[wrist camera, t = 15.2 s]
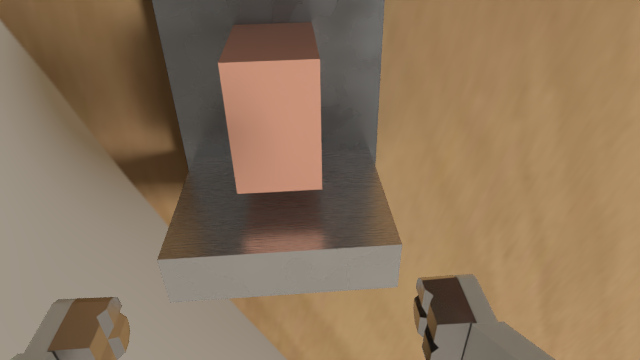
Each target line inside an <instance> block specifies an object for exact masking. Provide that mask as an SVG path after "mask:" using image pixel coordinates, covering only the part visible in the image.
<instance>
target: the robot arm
mask: <svg viewBox="0 0 640 360" xmlns="http://www.w3.org/2000/svg"><path fill="white" fill-rule="evenodd" d="M416 289H417V292H418V296H417V297H415V298H414V307H413V308H414V319H415V325H416V328H417V332H418V333H419V334H420V335H421V336H422V337H423V343H422V349H423V352H424V355H425V359H426V360H555V359H554V358H552V357H551V356H550V355H548V354H547V353H546V352H544V351H543V350H541V349H540V348H539V347H537V346H536V345H535V344H533V343H532V342H531V341H529V340H528V339H526V338H525V337H524V336H522V335H521V334H520V333H518V332H517V331H516V330H514V329H513V328H512V327H510V326H509V325H507V324H506V323H505V322H498V321H497V319H496V317H495V315H494V313H493V311H492V308H491V306H490V304H489V302H488V300H487V298H486V296H485V294H484V292H483V290H482V288H481V286H480V284H479V282H478V280H477V278H476V277H475V276H474V275H473V274H466V275H454V276H453V275H449V276H436V277H422V278H418V280H417V284H416ZM121 307H122V305H121V303H120V301H119V299H118V298H117V297H108V298H107V297H104V298H77V299H59V300H57V301H56V302H54V303H53V304H52V305H51V307H50V309H49V311H48V312H47V314H46V316H45V318H44V319H43V321H42V323H41V324H40V326H39V328H38V330H37V331H36V333H35V335H34V337H33V338H32V340H31V342H30V344H29V345H28V347H27V349H26V350H25V352H24V353H23V354H17V355H16V356H15V357H13V358H12V359H11V360H118V359H119V358H120V357H121V356H122V355H123V354H124V353H125V352H126V349H127V346H128V343H129V335H130V328H129V322H128V319H127V317H126V316H124V315H123V314H121V313H120V309H121Z"/></svg>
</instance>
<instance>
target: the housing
mask: <svg viewBox="0 0 640 360" xmlns="http://www.w3.org/2000/svg"><path fill="white" fill-rule="evenodd" d="M218 67H219V74H220V81H221V87H222V94H223V101H224V108H225V115H226V121H227V128H228V135H229V142H230V149H231V155H232V162H233V169H234V176H235V182H236V189H237V194H245V193H264V192H282V191H301V190H320V189H322V146H321V90H320V57H319V53H318V48H317V44H316V39H315V35H314V30H313V26H312V22H302V23H273V24H244V25H233V27H232V30H231V32H230V35H229V37H228V40H227V42H226V44H225V47H224V49H223V52H222V54H221V57H220V59H219V61H218Z"/></svg>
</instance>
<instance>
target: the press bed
mask: <svg viewBox="0 0 640 360" xmlns="http://www.w3.org/2000/svg"><path fill="white" fill-rule="evenodd" d="M152 3H153V8H154V13H155V17H156V22H157V26H158V31H159V36H160V40H161V45H162V49H163V54H164V59H165V63H166V68H167V72H168V77H169V81H170V86H171V91H172V95H173V100H174V104H175V109H176V114H177V118H178V123H179V127H180V132H181V137H182V141H183V146H184V150H185V155H186V160H187V164H188V169H189V172H188V175H187V178H186V180H185V183H184V186H183V189H182V192H181V194H180V197H179V200H178V203H177V206H176V209H175V211H174V214H173V217H172V220H171V223H170V225H169V228H168V231H167V234H166V237H165V240H164V242H163V245H162V248H161V251H160V254H159V256H158V259H157V261H158V264H159V267H160V270H161V274H162V277H163V280H164V283H165V287H166V290H167V293H168V297H169V300H170V302H182V301H197V300H213V299H228V298H243V297H258V296H272V295H287V294H302V293H317V292H332V291H346V290H361V289H376V288H391V287H398V277H399V268H400V259H401V249H402V243H401V240H400V237H399V234H398V231H397V228H396V225H395V223H394V220H393V217H392V214H391V211H390V208H389V205H388V202H387V199H386V196H385V193H384V190H383V188H382V185H381V182H380V179H379V176H378V173H377V170H376V167H375V161H376V143H377V125H378V107H379V90H380V72H381V54H382V36H383V18H384V0H152ZM302 22H312V26H313V30H314V35H315V39H316V44H317V48H318V53H319V57H320V90H321V146H322V189H320V190H301V191H282V192H264V193H245V194H237V189H236V182H235V176H234V169H233V162H232V155H231V149H230V142H229V135H228V128H227V121H226V115H225V108H224V101H223V94H222V87H221V81H220V74H219V67H218V61H219V59H220V57H221V54H222V52H223V49H224V47H225V44H226V42H227V40H228V37H229V35H230V32H231V30H232V27H233V25H244V24H273V23H302Z"/></svg>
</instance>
